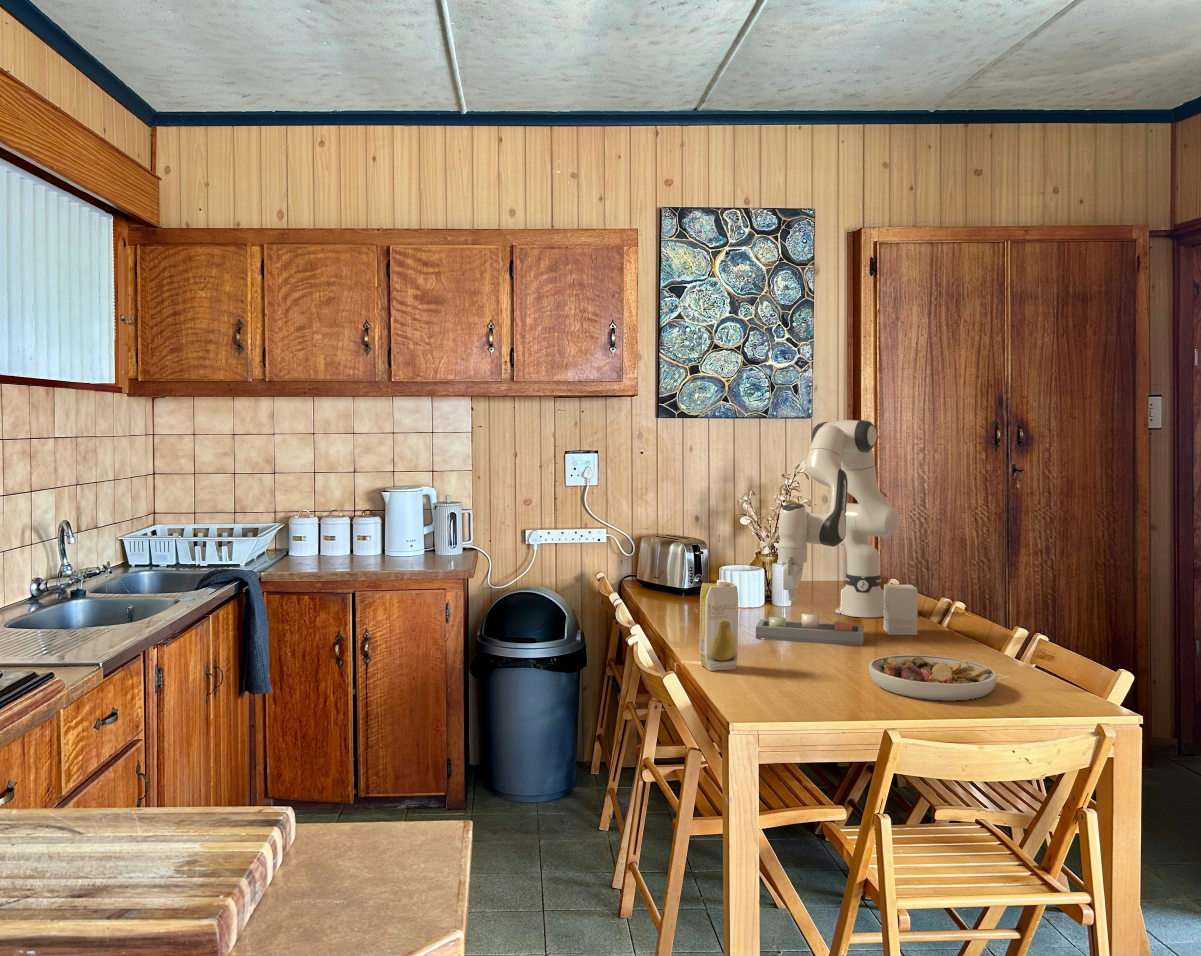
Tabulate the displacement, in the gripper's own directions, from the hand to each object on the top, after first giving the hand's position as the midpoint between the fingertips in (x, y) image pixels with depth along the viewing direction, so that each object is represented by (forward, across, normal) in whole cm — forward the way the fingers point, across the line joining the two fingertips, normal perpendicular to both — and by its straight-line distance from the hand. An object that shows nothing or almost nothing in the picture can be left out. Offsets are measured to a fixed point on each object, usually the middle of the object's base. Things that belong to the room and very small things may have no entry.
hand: (792, 599), depth 293 cm
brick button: (+10, 0, -16) cm, 19 cm away
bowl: (+12, -49, -40) cm, 64 cm away
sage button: (+10, -1, +4) cm, 11 cm away
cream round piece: (+8, 0, -6) cm, 10 cm away
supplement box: (+12, +18, -32) cm, 39 cm away
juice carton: (+11, -47, +14) cm, 50 cm away
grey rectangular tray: (+12, 0, -6) cm, 13 cm away
